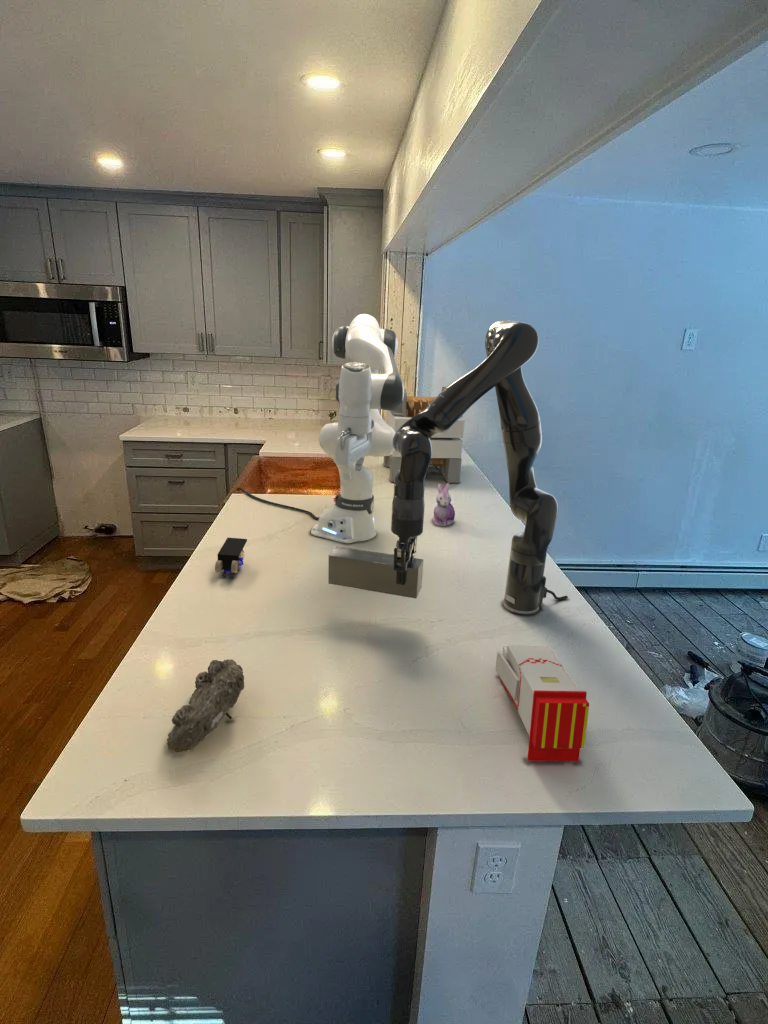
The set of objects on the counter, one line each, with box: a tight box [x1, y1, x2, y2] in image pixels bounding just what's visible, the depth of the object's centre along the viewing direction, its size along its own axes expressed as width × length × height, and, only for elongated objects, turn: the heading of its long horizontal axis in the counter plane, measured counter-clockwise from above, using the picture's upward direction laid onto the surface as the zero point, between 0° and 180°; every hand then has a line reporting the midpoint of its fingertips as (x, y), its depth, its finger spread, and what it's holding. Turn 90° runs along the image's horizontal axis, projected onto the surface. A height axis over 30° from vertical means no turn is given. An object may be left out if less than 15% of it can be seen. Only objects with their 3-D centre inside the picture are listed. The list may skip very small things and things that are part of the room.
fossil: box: [166, 658, 245, 754], centre depth 106 cm, size 22×10×15 cm
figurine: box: [432, 482, 456, 527], centre depth 210 cm, size 9×10×15 cm
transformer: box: [383, 386, 465, 484], centre depth 268 cm, size 34×33×41 cm
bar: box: [327, 545, 424, 599], centre depth 139 cm, size 22×6×8 cm, turn 74°
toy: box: [494, 644, 590, 762], centre depth 112 cm, size 12×13×30 cm
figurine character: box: [214, 537, 248, 578], centre depth 166 cm, size 7×8×15 cm
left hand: (353, 475), depth 157 cm, fingers open, 8 cm apart
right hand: (404, 578), depth 138 cm, fingers closed on bar, 6 cm apart
